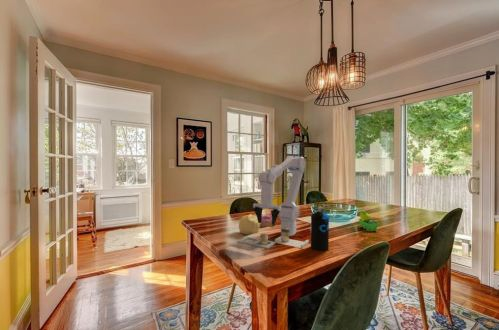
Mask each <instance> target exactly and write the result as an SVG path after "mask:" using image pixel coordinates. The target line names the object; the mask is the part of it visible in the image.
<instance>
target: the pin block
mask: <svg viewBox="0 0 499 330" xmlns="http://www.w3.org/2000/svg"><path fill="white" fill-rule="evenodd" d="M247 240H252V241H253V242H250V241H247ZM237 242H238V243H240V244H245V245H249V246H254V247H259V248H263V249H269V248H271V247H272V246H274V245H276V244H277V243H276V242H275V241H271V240H268V245H260V238H256V237H252V236H249V235H247V236H246V237H244V238H241V239H238V240H237Z"/></svg>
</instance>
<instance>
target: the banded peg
mask: <svg viewBox="0 0 499 330" xmlns="http://www.w3.org/2000/svg"><path fill="white" fill-rule="evenodd" d="M259 236H260V237H259V239H260V243H259V244H260V245H265V246H267V245H268V244H269V243H268V241H269V240H268V239H269V234H268V233H264V232H263V233H260V234H259Z"/></svg>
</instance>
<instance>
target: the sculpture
mask: <svg viewBox="0 0 499 330" xmlns="http://www.w3.org/2000/svg"><path fill="white" fill-rule="evenodd" d="M260 228H261V227H260V223H258V219H257V216H256V214H255V215H254V214H251V213H249V214H246V215H243V216H242V217H241V218H240V219H239V221H238V229H239V232H240V233H241V234H243V235H247V236H250V235H252V234H256V233H259V231H260Z"/></svg>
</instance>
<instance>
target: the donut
mask: <svg viewBox="0 0 499 330" xmlns="http://www.w3.org/2000/svg"><path fill="white" fill-rule="evenodd" d="M273 226H275V225H272V215H271V216H270V215H262V221H261V223H260V227H259V228H270V227H273Z"/></svg>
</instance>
